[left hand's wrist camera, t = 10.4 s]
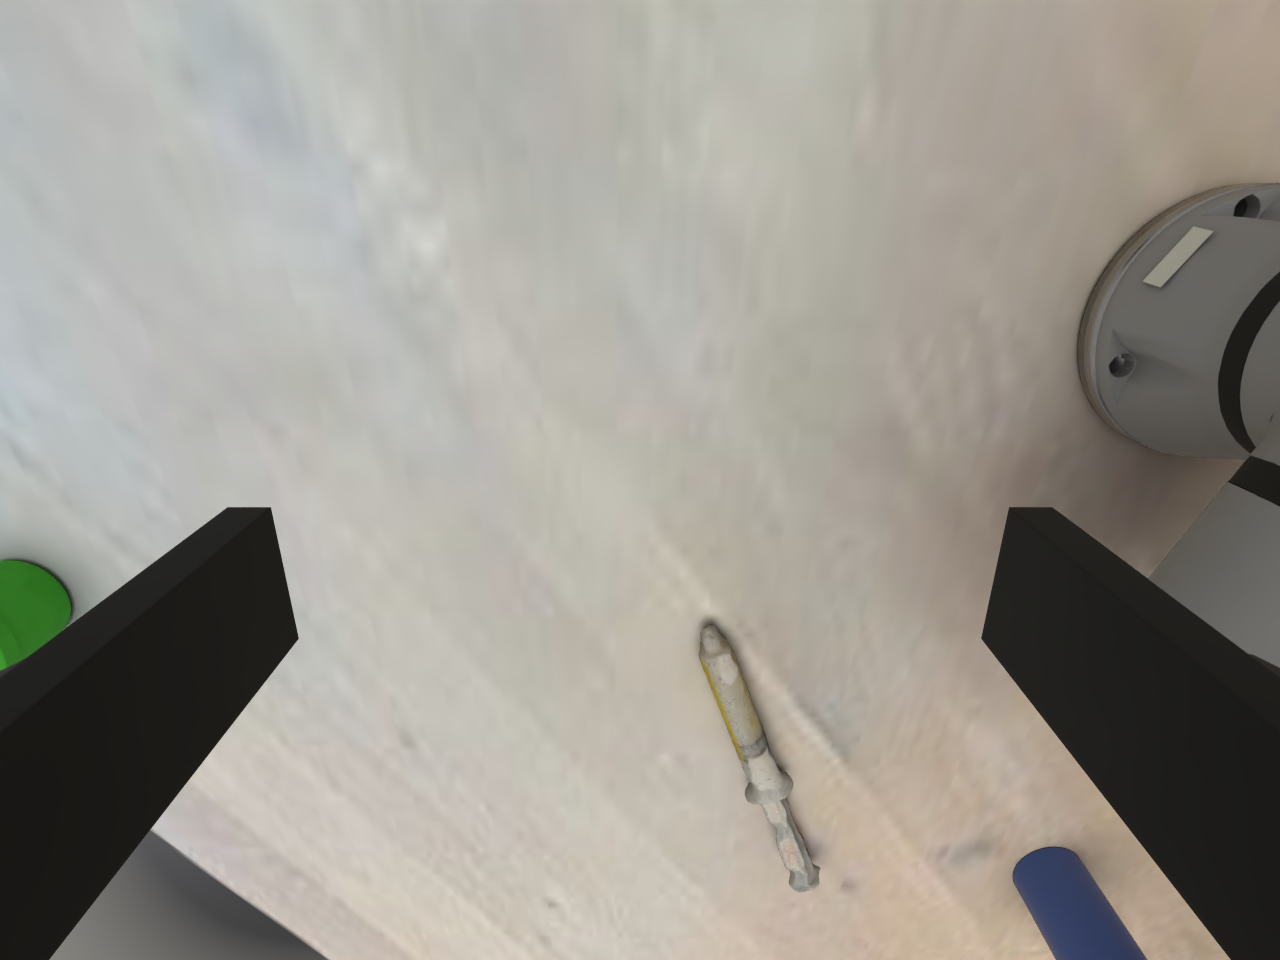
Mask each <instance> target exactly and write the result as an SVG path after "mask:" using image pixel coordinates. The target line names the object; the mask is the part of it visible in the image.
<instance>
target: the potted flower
mask: <svg viewBox="0 0 1280 960" xmlns="http://www.w3.org/2000/svg"><path fill="white" fill-rule="evenodd" d="M70 614H71V604H70V601H69V597H68V595H67V593H66V591H65V590H64V588H63V587H62V585H61V584H60V583H59V582H58V581H57V580H56V579H55V578H54V577H53V576H52V575H50V574H49V573H48V572H46V571H45V570H43V569H41V568H39V567H37V566H35V565H32V564H30V563H26V562H22V561H14V560H5V561H0V671H1V670H3V669H5V668H7V667H9V666H11V665H13V664H15V663H17V662H19V661H21V660H23V659H25V658H27V657H28V656H29V655H31V654H32V653H34V652H35V651H36V650H38V649H39V648H40V647H42V646H43V645H44V644H46V643H47V642H48V641H50V640H51V639H52V638H54V637H55V636H56V635H58V634H59V633H60V632H61V631H62V630H63V629H64V628H65V627H66V625H67V623H68V622H69V619H70Z"/></svg>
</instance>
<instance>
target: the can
mask: <svg viewBox="0 0 1280 960" xmlns="http://www.w3.org/2000/svg"><path fill="white" fill-rule="evenodd" d="M1013 881H1014V884H1015V886H1016V888H1017V889H1018V891H1019V893H1020V895H1021V897H1022V899H1023V900H1024V902H1025V904H1026V906H1027V908H1028V910H1029V911H1030V913H1031V915H1032V917H1033V919H1034V921H1035V922H1036V924H1037V926H1038V928H1039V930H1040V932H1041V933H1042V935H1043V937H1044V939H1045V941H1046V942H1047V944H1048V946H1049V948H1050V950H1051V952H1052V953H1053V955H1054V957H1055V959H1056V960H1147V958H1146V957H1145V955H1144V954H1143V952H1142V951H1141V949H1140V948H1139V946H1138V945H1137V943H1136V942H1135V940H1134V939H1133V937H1132V936H1131V934H1130V933H1129V931H1128V930H1127V928H1126V927H1125V925H1124V924H1123V922H1122V921H1121V919H1120V918H1119V917H1118V915H1117V914H1116V912H1115V911H1114V909H1113V908H1112V906H1111V905H1110V903H1109V902H1108V900H1107V899H1106V897H1105V896H1104V894H1103V893H1102V891H1101V890H1100V888H1099V887H1098V885H1097V884H1096V882H1095V881H1094V879H1093V878H1092V876H1091V875H1090V873H1089V872H1088V870H1087V869H1086V867H1085V866H1084V864H1083V863H1082V861H1081V860H1080V858H1079V857H1078V856H1077V855H1076V854H1075V853H1074V852H1072V851H1070V850H1068V849H1065V848H1059V847H1049V848H1044V849H1040V850H1037V851H1034V852H1032V853H1030V854H1028V855H1027V856H1025V857H1024V858H1023V859H1022V860H1021V861H1020V862H1019V863H1018V864H1017V865H1016V867H1015V869H1014V872H1013Z"/></svg>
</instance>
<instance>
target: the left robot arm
mask: <svg viewBox="0 0 1280 960" xmlns="http://www.w3.org/2000/svg"><path fill="white" fill-rule="evenodd" d="M1078 365H1079V373H1080V377H1081V381H1082V385H1083V388H1084V391H1085V393H1086V396H1087V397H1088V399H1089V401H1090V403H1091V405H1092V406H1093V408H1094V409H1095V411H1096V412H1097V414H1098V415H1099V416H1100V417H1101V418H1102V419H1103V420H1104V421H1105V422H1106V423H1107V424H1108V425H1109V426H1110V427H1112V428H1113V429H1114V430H1116V431H1117V432H1119V433H1120V434H1122V435H1124V436H1126V437H1128V438H1130V439H1132V440H1134V441H1136V442H1138V443H1140V444H1142V445H1144V446H1146V447H1149V448H1151V449H1154V450H1157V451H1160V452H1164V453H1168V454H1173V455H1180V456H1188V457H1205V458H1225V459H1246V461H1245V462H1244V464H1243V465H1242V466H1241V467H1240V468H1239V470H1238V471H1237V472H1236V473H1235V475H1234V476H1233V477H1232V478H1231V479H1230V480H1229V481H1228V482H1227V483H1226V484H1225V485H1224V487H1223V488H1222V489H1221V490H1220V491H1219V493H1218V494H1217V495H1216V496H1215V498H1214V499H1213V500H1212V501H1211V503H1210V504H1209V505H1208V506H1207V507H1206V509H1205V510H1204V511H1203V512H1202V514H1201V515H1200V516H1199V517H1198V519H1197V520H1196V521H1195V522H1194V523H1193V525H1192V526H1191V527H1190V528H1189V530H1188V531H1187V532H1186V533H1185V534H1184V536H1183V537H1182V538H1181V539H1180V541H1179V542H1178V543H1177V544H1176V546H1175V547H1174V548H1173V549H1172V550H1171V552H1170V553H1169V554H1168V555H1167V557H1166V558H1165V559H1164V560H1163V561H1162V562H1161V564H1160V565H1159V566H1158V567H1157V568H1156V569H1155V571H1154V572H1153V573H1152V574H1151V575H1150V577H1149V578H1148V579H1147V578H1146V577H1145V576H1143V575H1142V574H1141V573H1139V572H1138V571H1137V570H1135V569H1134V568H1133V567H1131V566H1130V565H1129V564H1127V563H1126V562H1125V561H1123V560H1122V559H1121V558H1119V557H1118V556H1117V555H1115V554H1114V553H1113V552H1111V551H1110V550H1109V549H1107V548H1106V547H1105V546H1103V545H1102V544H1101V543H1099V542H1098V541H1097V540H1095V539H1094V538H1093V537H1091V536H1090V535H1089V534H1087V533H1086V532H1085V531H1083V530H1082V529H1081V528H1079V527H1078V526H1076V525H1075V524H1074V523H1072V522H1071V521H1070V520H1068V519H1067V518H1066V517H1064V516H1063V515H1062V514H1060V513H1059V512H1058V511H1056V510H1055V509H1054V508H1052V507H1009V511H1008V516H1007V520H1006V525H1005V530H1004V534H1003V539H1002V544H1001V548H1000V553H999V558H998V563H997V567H996V572H995V577H994V581H993V586H992V591H991V596H990V600H989V605H988V610H987V614H986V619H985V624H984V628H983V633H982V638H981V639H982V640H983V641H984V643H985V644H986V645H987V646H988V648H989V649H990V650H991V652H992V653H993V654H994V655H995V657H996V658H997V659H998V661H999V662H1000V663H1001V665H1002V666H1003V667H1004V668H1005V670H1006V671H1007V672H1008V674H1009V675H1010V676H1011V677H1012V679H1013V680H1014V681H1015V683H1016V684H1017V685H1018V686H1019V688H1020V689H1021V690H1022V692H1023V693H1024V694H1025V695H1026V697H1027V698H1028V699H1029V701H1030V702H1031V703H1032V704H1033V706H1034V707H1035V708H1036V710H1037V711H1038V712H1039V713H1040V715H1041V716H1042V717H1043V719H1044V720H1045V721H1046V722H1047V724H1048V725H1049V726H1050V728H1051V729H1052V730H1053V731H1054V733H1055V734H1056V735H1057V737H1058V738H1059V739H1060V740H1061V742H1062V743H1063V744H1064V746H1065V747H1066V748H1067V749H1068V751H1069V752H1070V753H1071V755H1072V756H1073V757H1074V758H1075V760H1076V761H1077V762H1078V764H1079V765H1080V766H1081V767H1082V769H1083V770H1084V771H1085V773H1086V774H1087V775H1088V776H1089V778H1090V779H1091V780H1092V782H1093V783H1094V784H1095V785H1096V787H1097V788H1098V789H1099V791H1100V792H1101V793H1102V794H1103V796H1104V797H1105V798H1106V800H1107V801H1108V802H1109V803H1110V805H1111V806H1112V807H1113V809H1114V810H1115V811H1116V812H1117V814H1118V815H1119V816H1120V818H1121V819H1122V820H1123V821H1124V823H1125V824H1126V825H1127V827H1128V828H1129V829H1130V830H1131V832H1132V833H1133V834H1134V836H1135V837H1136V838H1137V839H1138V841H1139V842H1140V843H1141V845H1142V846H1143V847H1144V848H1145V850H1146V851H1147V852H1148V854H1149V855H1150V856H1151V857H1152V859H1153V860H1154V861H1155V863H1156V864H1157V865H1158V866H1159V868H1160V869H1161V870H1162V872H1163V873H1164V874H1165V875H1166V877H1167V878H1168V879H1169V881H1170V882H1171V883H1172V885H1173V886H1174V887H1175V888H1176V890H1177V891H1178V892H1179V894H1180V895H1181V896H1182V897H1183V899H1184V900H1185V901H1186V903H1187V904H1188V905H1189V906H1190V908H1191V909H1192V910H1193V912H1194V913H1195V914H1196V915H1197V917H1198V918H1199V919H1200V921H1201V922H1202V923H1203V924H1204V926H1205V927H1206V928H1207V930H1208V931H1209V932H1210V933H1211V935H1212V936H1213V937H1214V939H1215V940H1216V941H1217V942H1218V944H1219V945H1220V946H1221V948H1222V949H1223V950H1224V951H1225V953H1226V954H1227V955H1228V957H1229V958H1230V959H1231V960H1280V183H1259V184H1239V185H1232V186H1225V187H1221V188H1217V189H1213V190H1210V191H1207V192H1204V193H1201V194H1198V195H1196V196H1194V197H1191V198H1189V199H1187V200H1184V201H1182V202H1181V203H1179V204H1177V205H1175V206H1173V207H1171V208H1170V209H1168V210H1167V211H1165V212H1163V213H1162V214H1160V215H1159V216H1157V217H1156V218H1155V219H1153V220H1152V221H1151V222H1149V223H1148V224H1147V225H1146V226H1144V227H1143V228H1142V229H1141V230H1140V231H1139V232H1138V233H1136V234H1135V235H1134V236H1133V237H1132V238H1131V239H1130V240H1129V241H1128V242H1127V243H1126V244H1125V245H1124V247H1123V248H1122V249H1121V250H1120V251H1119V252H1118V254H1117V255H1116V256H1115V257H1114V258H1113V260H1112V261H1111V263H1110V264H1109V265H1108V267H1107V268H1106V270H1105V271H1104V273H1103V274H1102V276H1101V278H1100V279H1099V281H1098V283H1097V285H1096V287H1095V289H1094V291H1093V293H1092V295H1091V297H1090V299H1089V302H1088V304H1087V307H1086V310H1085V313H1084V316H1083V320H1082V323H1081V329H1080V334H1079V342H1078ZM1242 488H1243V489H1242ZM1244 489H1245V490H1244ZM1246 490H1247V491H1246ZM1248 491H1249V492H1248ZM1250 492H1251V493H1250ZM1252 493H1254V494H1252ZM1255 494H1256V495H1255ZM1257 495H1258V496H1257ZM1259 496H1260V497H1259ZM1261 497H1262V498H1261ZM1263 498H1264V499H1263ZM1265 499H1266V500H1265ZM1267 500H1268V501H1267ZM1269 501H1270V502H1269ZM1271 502H1272V503H1271ZM1273 503H1274V504H1273ZM1275 504H1276V505H1275ZM298 639H299V638H298V633H297V628H296V624H295V619H294V614H293V610H292V605H291V600H290V596H289V591H288V586H287V581H286V577H285V572H284V567H283V563H282V558H281V553H280V548H279V544H278V539H277V534H276V530H275V525H274V520H273V516H272V511H271V507H228V508H226V509H225V510H224V511H222V512H221V513H220V514H218V515H217V516H216V517H214V518H213V519H212V520H210V521H209V522H208V523H206V524H205V525H204V526H202V527H201V528H199V529H198V530H197V531H195V532H194V533H193V534H191V535H190V536H189V537H187V538H186V539H185V540H183V541H182V542H181V543H179V544H178V545H177V546H175V547H174V548H173V549H171V550H170V551H169V552H167V553H166V554H165V555H163V556H162V557H161V558H159V559H158V560H157V561H155V562H154V563H153V564H151V565H150V566H149V567H147V568H146V569H145V570H143V571H142V572H141V573H139V574H138V575H137V576H135V577H134V578H133V579H131V580H130V581H129V582H127V583H126V584H125V585H123V586H122V587H121V588H119V589H118V590H117V591H115V592H114V593H112V594H111V595H110V596H108V597H107V598H106V599H104V600H103V601H102V602H100V603H99V604H98V605H96V606H95V607H94V608H92V609H91V610H90V611H88V612H87V613H86V614H84V615H83V616H82V617H80V618H79V619H78V620H76V621H75V622H74V623H72V624H71V625H70V626H68V627H67V628H66V629H64V630H63V631H62V632H60V633H59V634H58V635H56V636H55V637H54V638H52V639H51V640H50V641H48V642H47V643H46V644H44V645H43V646H42V647H40V648H39V649H38V650H36V651H35V652H34V653H32V654H31V655H29V656H28V657H27V658H25V659H23V660H21V661H19V662H17V663H15V664H13V665H11V666H9V667H7V668H5V669H3V670H1V671H0V960H49V959H50V958H51V957H52V955H53V954H54V953H55V951H56V950H57V949H58V948H59V946H60V945H61V944H62V942H63V941H64V940H65V939H66V937H67V936H68V935H69V933H70V932H71V931H72V930H73V928H74V927H75V926H76V924H77V923H78V922H79V921H80V919H81V918H82V917H83V915H84V914H85V913H86V912H87V910H88V909H89V908H90V906H91V905H92V904H93V903H94V901H95V900H96V899H97V897H98V896H99V895H100V894H101V892H102V891H103V890H104V888H105V887H106V886H107V884H108V883H109V882H110V881H111V879H112V878H113V877H114V875H115V874H116V873H117V872H118V870H119V869H120V868H121V866H122V865H123V864H124V863H125V861H126V860H127V859H128V857H129V856H130V855H131V854H132V852H133V851H134V850H135V848H136V847H137V846H138V845H139V843H140V842H141V841H142V839H143V838H144V837H145V836H146V834H147V833H148V832H149V830H150V829H151V828H152V827H153V825H154V824H155V823H156V821H157V820H158V819H159V818H160V816H161V815H162V814H163V812H164V811H165V810H166V809H167V807H168V806H169V805H170V803H171V802H172V801H173V800H174V798H175V797H176V796H177V794H178V793H179V792H180V791H181V789H182V788H183V787H184V785H185V784H186V783H187V782H188V780H189V779H190V778H191V776H192V775H193V774H194V773H195V771H196V770H197V769H198V767H199V766H200V765H201V764H202V762H203V761H204V760H205V758H206V757H207V756H208V755H209V753H210V752H211V751H212V749H213V748H214V747H215V746H216V744H217V743H218V742H219V740H220V739H221V738H222V737H223V735H224V734H225V733H226V731H227V730H228V729H229V728H230V726H231V725H232V724H233V722H234V721H235V720H236V719H237V717H238V716H239V715H240V713H241V712H242V711H243V710H244V708H245V707H246V706H247V704H248V703H249V702H250V701H251V699H252V698H253V697H254V695H255V694H256V693H257V692H258V690H259V689H260V688H261V686H262V685H263V684H264V683H265V681H266V680H267V679H268V677H269V676H270V675H271V674H272V672H273V671H274V670H275V668H276V667H277V666H278V665H279V663H280V662H281V661H282V659H283V658H284V657H285V655H286V654H287V653H288V652H289V650H290V649H291V648H292V646H293V645H294V644H295V643H296V641H297V640H298Z"/></svg>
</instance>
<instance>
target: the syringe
mask: <svg viewBox="0 0 1280 960" xmlns="http://www.w3.org/2000/svg"><path fill="white" fill-rule="evenodd" d="M701 639H702V641H701V643H700V651H699V658H700V661H701V663H702V666H703V669H704V671H705V674H706V676H707V679H708V681H709V684H710V686H711V689H712V691H713V694H714V696H715V698H716V701H717V703H718V706H719V708H720V711H721V713H722V716H723V718H724V721H725V724H726V726H727V728H728V731H729V734H730V736H731V738H732V741H733V744H734V746H735V748H736V751H737V754H738V757H739V759H740V761H741V763H742V767H743V770H744V772H745V773H746V775H747V777H748V778H749V780H750V781H751V782H750V783H748V786H747V788H746V789H745V797H746V799H747V801H748V802H750V803H752V804H761V805H762V807H763V809H764V812H765V814H766V818H767V820H768V821H769V823H770V824H772V825H774V826H775V827H776V828H777V835H776V843H777V846H778V849H779V852H780V854H781V857H782V859H783V861H784V865H785V867H786V869H788V870H790V878H789V885H790V886H791V887H792V888H793V889H794V890H796V891H797V892H805V891H810V890H814V889H816V888H817V887H818V885H819V870H820V867H818V866H816V865H814V864H813V863H812V860H811V857H810V855H809V853H808V850H807V849H806V847H805V845H804V838H803V836H802V835H801V833H800V832H799V831H798V830H797V828H796V825H795V823H794V821H793V819H792V816H791V813H790V809H789V805H788V801H787V799H786V797H787V796H788V795H789V794H790V792H791V790H792V788H793V781H792V779H791V777H790V776H789V775H788V774H787V772H785V771H780V770H779V769H778V767H777V765H776V762H775V760H774V758H773V755H772V753H771V751H770V749H769V746H768V742H767V738H766V735H765V732H764V730H763V727H762V724H761V722H760V720H759V718H758V715H757V712H756V710H755V708H754V705H753V702H752V700H751V697H750V694H749V691H748V689H747V687H746V684H745V681H744V679H743V676H742V673H741V670H740V667H739V664H738V662H737V659H736V656H735V654H734V652H733V651H732V649H731V647H730V646H729V644H728V642H727V639H726V638H724V637H723V636H721V634H720V633H719V631H718V629H717V627H716V626H715V625H708V626H706V627H705V628H704V629H703V630H702V631H701Z"/></svg>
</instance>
